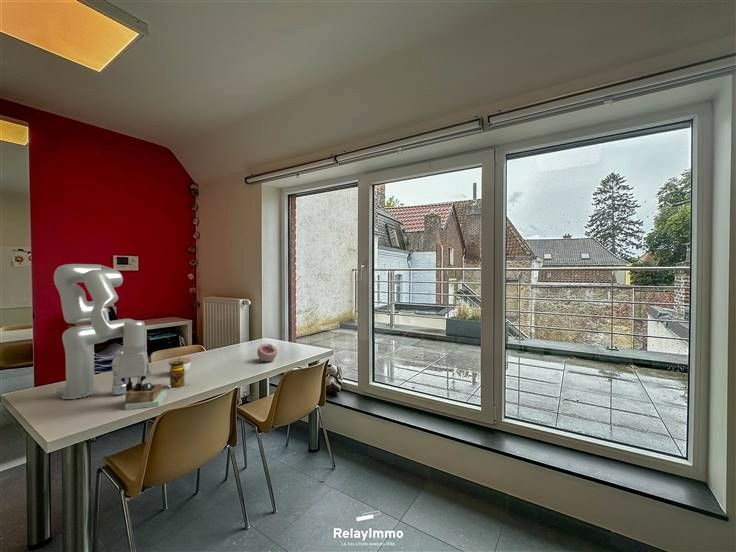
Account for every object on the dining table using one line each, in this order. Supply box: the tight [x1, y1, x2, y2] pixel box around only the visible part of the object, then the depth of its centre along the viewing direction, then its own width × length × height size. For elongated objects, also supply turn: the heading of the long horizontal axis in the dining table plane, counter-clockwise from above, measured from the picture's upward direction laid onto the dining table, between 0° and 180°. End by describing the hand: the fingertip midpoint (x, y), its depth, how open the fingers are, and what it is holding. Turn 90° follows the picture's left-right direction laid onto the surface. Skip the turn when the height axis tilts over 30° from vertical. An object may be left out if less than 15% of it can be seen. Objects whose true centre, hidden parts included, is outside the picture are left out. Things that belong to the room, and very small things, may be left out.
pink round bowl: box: [257, 343, 278, 363], centre depth 199 cm, size 12×12×11 cm
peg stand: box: [124, 382, 168, 410], centre depth 137 cm, size 12×12×8 cm
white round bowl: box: [168, 356, 192, 376], centre depth 174 cm, size 11×11×9 cm
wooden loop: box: [124, 383, 162, 404], centre depth 137 cm, size 10×10×4 cm
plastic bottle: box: [111, 350, 127, 396], centre depth 146 cm, size 6×7×20 cm
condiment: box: [166, 361, 189, 391], centre depth 157 cm, size 7×8×12 cm
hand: (134, 391), depth 136 cm, fingers open, 2 cm apart
